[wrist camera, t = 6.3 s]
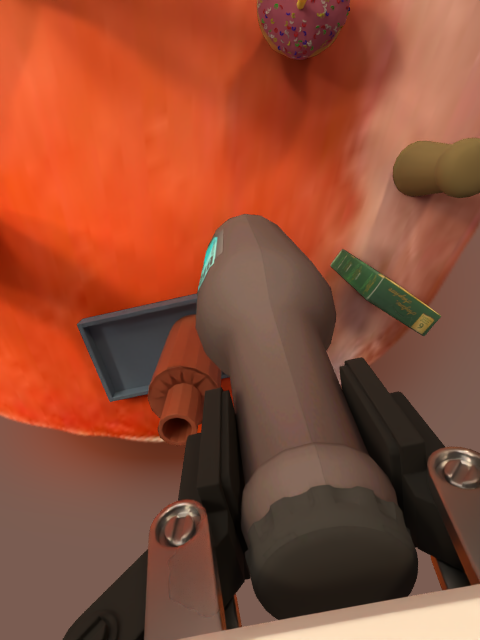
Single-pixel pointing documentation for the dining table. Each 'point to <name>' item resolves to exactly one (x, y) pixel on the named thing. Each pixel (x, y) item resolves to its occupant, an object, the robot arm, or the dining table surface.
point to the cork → (439, 168)
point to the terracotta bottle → (182, 382)
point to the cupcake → (301, 25)
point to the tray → (132, 344)
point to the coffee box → (385, 293)
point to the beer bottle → (297, 432)
